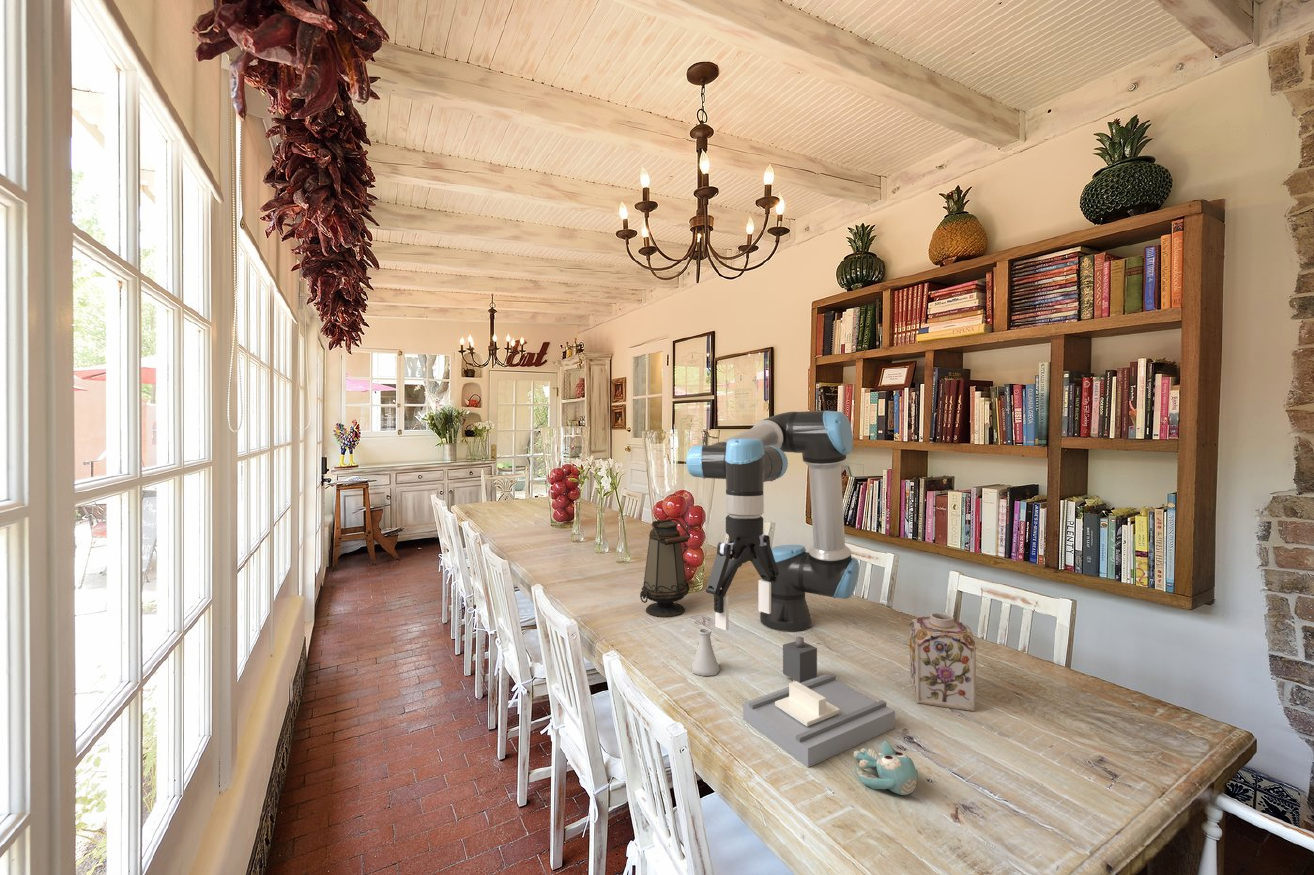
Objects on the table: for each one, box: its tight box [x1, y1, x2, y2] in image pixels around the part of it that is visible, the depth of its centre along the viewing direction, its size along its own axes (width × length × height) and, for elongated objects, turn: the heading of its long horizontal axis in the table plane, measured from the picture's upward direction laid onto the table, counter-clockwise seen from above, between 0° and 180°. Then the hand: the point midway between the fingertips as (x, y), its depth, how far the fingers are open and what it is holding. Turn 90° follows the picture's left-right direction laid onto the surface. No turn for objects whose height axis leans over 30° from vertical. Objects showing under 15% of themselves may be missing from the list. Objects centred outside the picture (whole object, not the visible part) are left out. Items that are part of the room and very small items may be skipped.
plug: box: [782, 636, 818, 683], centre depth 127 cm, size 6×6×10 cm
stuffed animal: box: [853, 740, 918, 796], centre depth 93 cm, size 11×7×12 cm
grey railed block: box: [742, 674, 896, 768], centre depth 109 cm, size 24×18×4 cm
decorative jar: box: [909, 611, 977, 712], centre depth 120 cm, size 12×12×18 cm
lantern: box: [639, 517, 691, 619], centre depth 175 cm, size 18×15×30 cm
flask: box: [690, 627, 721, 677], centre depth 133 cm, size 7×7×10 cm
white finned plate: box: [775, 681, 840, 726], centre depth 108 cm, size 9×9×4 cm
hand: (744, 620), depth 109 cm, fingers open, 13 cm apart
